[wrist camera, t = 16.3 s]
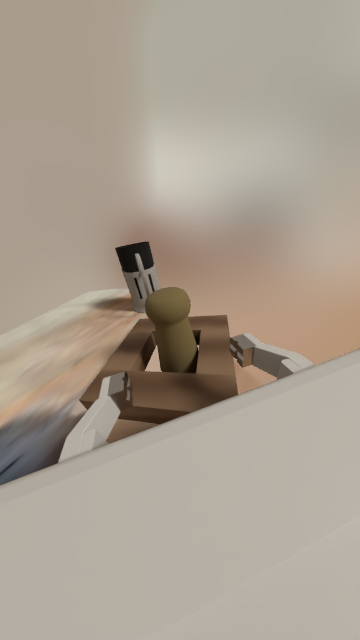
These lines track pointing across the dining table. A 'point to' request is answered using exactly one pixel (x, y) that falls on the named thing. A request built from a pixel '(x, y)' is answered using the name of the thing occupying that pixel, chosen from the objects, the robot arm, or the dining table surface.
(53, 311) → the dining table surface
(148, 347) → the walnut collar
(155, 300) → the cork
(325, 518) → the robot arm
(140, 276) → the glass holder
